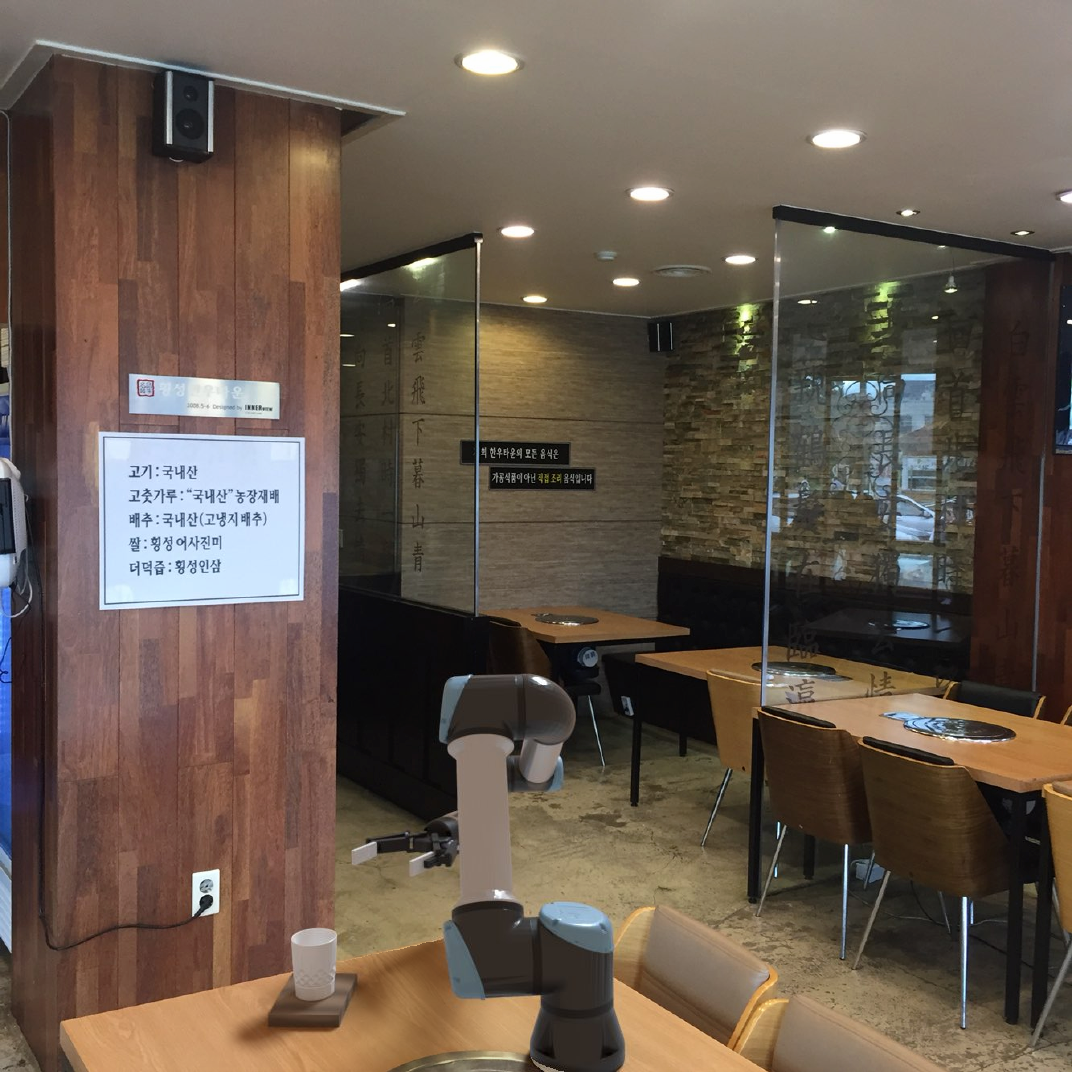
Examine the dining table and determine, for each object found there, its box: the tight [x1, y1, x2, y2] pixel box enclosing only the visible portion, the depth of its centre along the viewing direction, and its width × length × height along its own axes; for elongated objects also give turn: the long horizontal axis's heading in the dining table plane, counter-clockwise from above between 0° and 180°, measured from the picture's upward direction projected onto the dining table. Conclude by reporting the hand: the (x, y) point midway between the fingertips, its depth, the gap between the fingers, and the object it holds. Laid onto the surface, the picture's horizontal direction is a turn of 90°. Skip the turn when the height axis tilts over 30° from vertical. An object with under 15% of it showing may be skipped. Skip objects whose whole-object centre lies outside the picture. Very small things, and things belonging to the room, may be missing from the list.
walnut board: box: [267, 972, 359, 1028], centre depth 192 cm, size 16×12×2 cm
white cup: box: [290, 927, 338, 1001], centre depth 192 cm, size 8×8×10 cm
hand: (381, 863), depth 203 cm, fingers open, 13 cm apart
